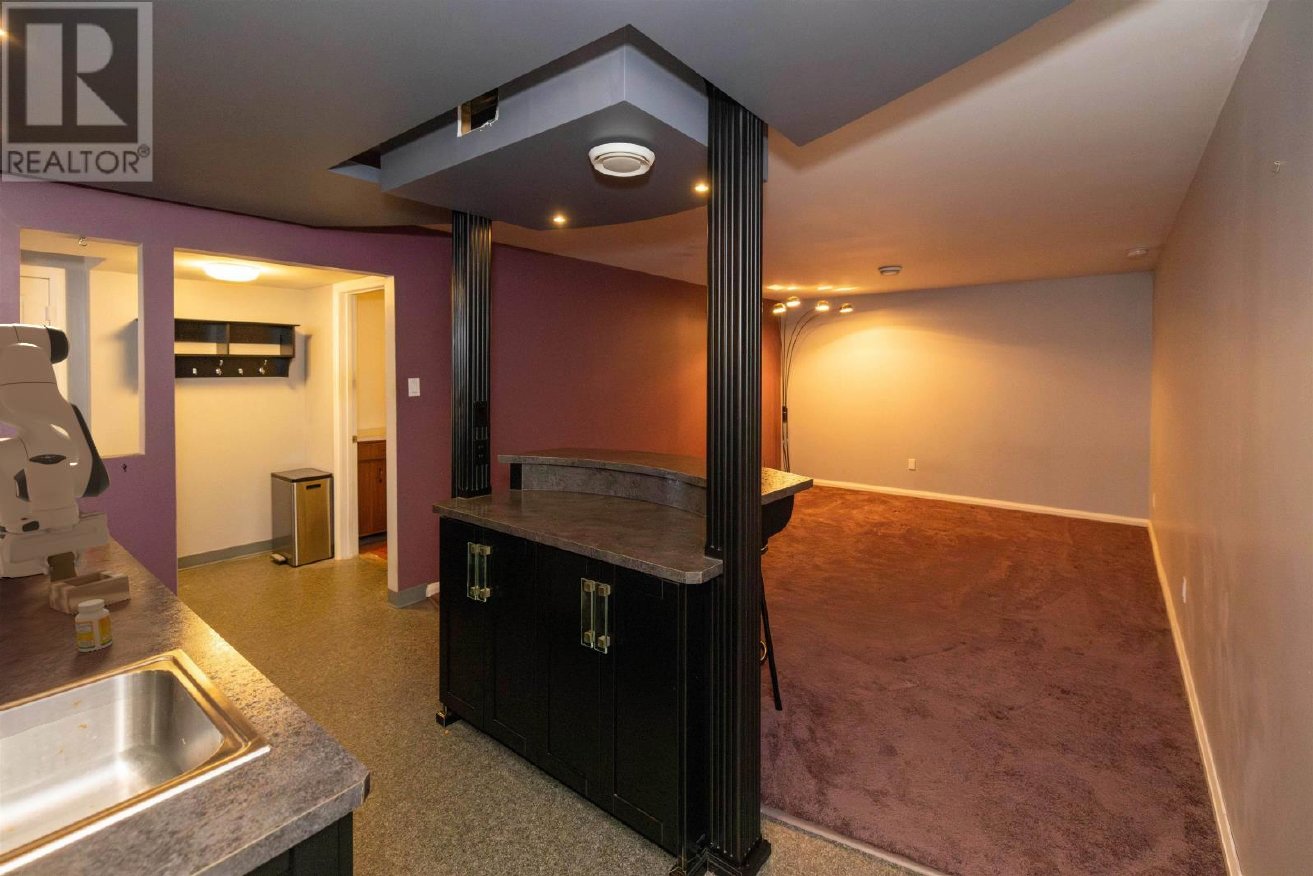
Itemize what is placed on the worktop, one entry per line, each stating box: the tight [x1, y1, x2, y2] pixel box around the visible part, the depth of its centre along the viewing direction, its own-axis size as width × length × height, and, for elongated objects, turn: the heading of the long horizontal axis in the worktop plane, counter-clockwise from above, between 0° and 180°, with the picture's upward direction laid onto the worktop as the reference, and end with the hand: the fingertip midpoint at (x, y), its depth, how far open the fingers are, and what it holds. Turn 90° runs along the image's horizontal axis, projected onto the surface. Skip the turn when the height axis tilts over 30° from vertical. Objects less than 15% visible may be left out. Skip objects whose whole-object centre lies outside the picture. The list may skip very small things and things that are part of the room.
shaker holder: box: [47, 569, 131, 616], centre depth 154 cm, size 11×11×6 cm
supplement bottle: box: [74, 599, 113, 653], centre depth 129 cm, size 5×5×10 cm
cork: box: [47, 551, 78, 583], centre depth 161 cm, size 6×6×11 cm
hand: (62, 570), depth 161 cm, fingers closed on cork, 4 cm apart
